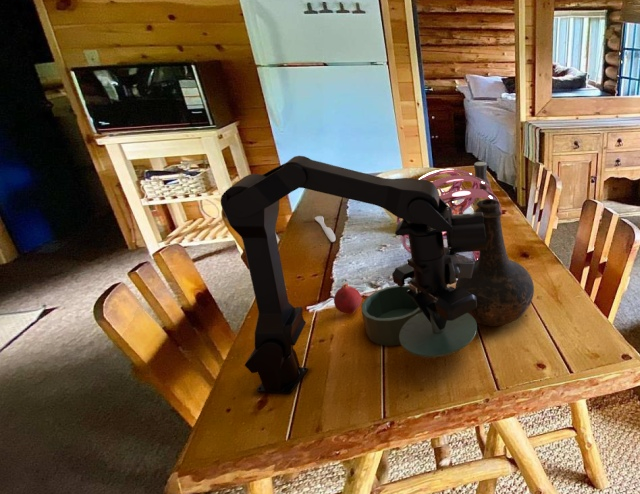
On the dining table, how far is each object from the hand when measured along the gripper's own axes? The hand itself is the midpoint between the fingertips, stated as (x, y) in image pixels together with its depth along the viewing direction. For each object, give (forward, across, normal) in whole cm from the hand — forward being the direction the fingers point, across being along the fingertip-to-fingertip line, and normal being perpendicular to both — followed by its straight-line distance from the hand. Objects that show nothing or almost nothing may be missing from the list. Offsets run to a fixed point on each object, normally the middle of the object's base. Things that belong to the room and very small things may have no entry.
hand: (437, 325), depth 84 cm
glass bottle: (+9, +5, -18) cm, 21 cm away
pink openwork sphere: (+9, +33, -27) cm, 44 cm away
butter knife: (+9, +81, -10) cm, 82 cm away
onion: (+9, +29, +5) cm, 31 cm away
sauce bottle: (+9, +49, -51) cm, 72 cm away
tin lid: (+2, 0, 0) cm, 2 cm away
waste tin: (+9, +17, 0) cm, 19 cm away
